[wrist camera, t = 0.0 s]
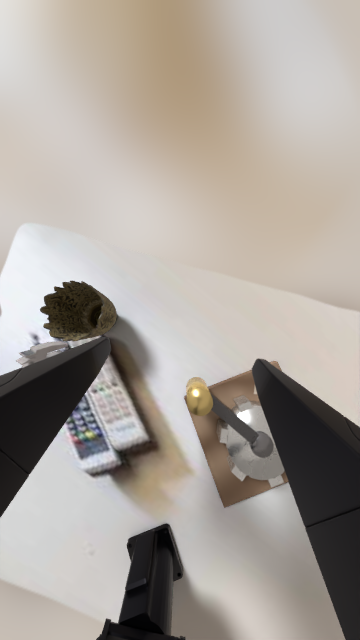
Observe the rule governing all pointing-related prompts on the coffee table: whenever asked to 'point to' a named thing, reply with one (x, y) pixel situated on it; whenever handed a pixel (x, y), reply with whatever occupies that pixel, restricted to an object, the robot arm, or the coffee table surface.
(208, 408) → the ring nut
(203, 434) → the nut base
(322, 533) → the robot arm
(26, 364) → the caliper
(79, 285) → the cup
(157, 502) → the coffee table surface
